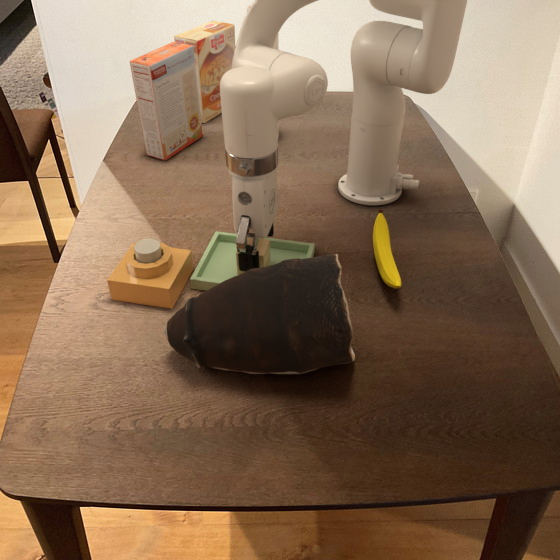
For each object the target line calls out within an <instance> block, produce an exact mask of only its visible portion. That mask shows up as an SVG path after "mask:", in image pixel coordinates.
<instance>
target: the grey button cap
mask: <svg viewBox="0 0 560 560" xmlns="http://www.w3.org/2000/svg"><path fill="white" fill-rule="evenodd" d="M160 242H161V241H159V240H157V239H156V238H143V239H141V240H138V241H137V242H135V243H136V244H135V245H134V251H135V256H136V260H137V261H138V262H139V263H145V264H148V263H153V262H156V261H158V260H159V259H161V257H162V251H161V245H160Z"/></svg>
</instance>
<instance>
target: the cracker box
mask: <svg viewBox="0 0 560 560" xmlns="http://www.w3.org/2000/svg"><path fill="white" fill-rule="evenodd" d="M129 67H130V72H131V77H132V82H133V88H134V95H135V100H136V104H137V110H138V115H139V117H138V118H139V120H140V128H141V134H142V139H143V143H144V149H145V155H146V156H148V157H152V158H155V159H159V160H162V161H167V160H169V159H170V158H172V157H174V156H175V155H177V154H178V153H180V152H181V151H183V150H184V149H186V148H187V147H189V146H191V145H192V144H193V143H195V142H197V141H198V140H200V139H201V138H203V136H204V134H203V125H202V123H201V113H200V104H199V95H198V85H197V76H196V66H195V57H194V47H193V45H187V44H182V43H178V42H175V41H172V42H169V43H167V44H165V45H163V46H161V47H158V48H156V49H154V50H152V51H149V52H147V53H144V54H142V55H140V56H137V57H135V58H133V59H131V60H129Z"/></svg>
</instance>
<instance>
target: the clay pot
mask: <svg viewBox="0 0 560 560" xmlns="http://www.w3.org/2000/svg"><path fill="white" fill-rule="evenodd" d="M342 268H343V267H342V265H341V263H340V259H339V254H338V253H329V254H323V255H318V256H313V257H312V258H305V259H300V258H296V259H287V260H283V261H282V262H280V263H277V264H274V265H270V266H266V267H262V268H255V269H250V270H248V271H246V272H244V273H242V274H240V275H237V276H234V277H232V278H230V279H227V280H225V281H223V282H221V283H220V284H218V285H216V286H214V287H212V288H210V289H208V290H207V291H205V290H204V291H203V292H201V293H200V294H199V295H198V296H193V297H190V298H188V299H186V302H185V304H184V306H183V307H181V308H180V309H179V310H177V311H176V312H175V313H174V314H172V316H171V317H170V318H169V319H167V321H166V323H165V326H164V334H165V335H164V336H165V338H166V340H167V343H168V344H169V346H170V347H171V348H172V349H173V350H174V351H175V352H176V353H177V354H179V355H180V356H182V357H183V358H185V359H186V360H187V361H189V362H190V363H192V364H193V365H195V366H196V367H197V368H201V367H202V368H208V369H209V368H212V369H217V370H223V371H231V372H232V371H233V372H241V373H246V374H249V375H251V374H252V375H264V374H266V375H267V374H272V375H273V374H275V375H303V374H306V373H309V372H313V371H316V370H319V369H322V368H326V367H333V366H338V365H345V364H350V363H353V362H354V361H355V359H356V354H355V352H354V350H353V346H352V343H353V340H354V330H353V324H352V321H351V313H350V309H349V303H348V299H347V297H346V294H345V291H344V289H343V285H342V273H343V272H342Z"/></svg>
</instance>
